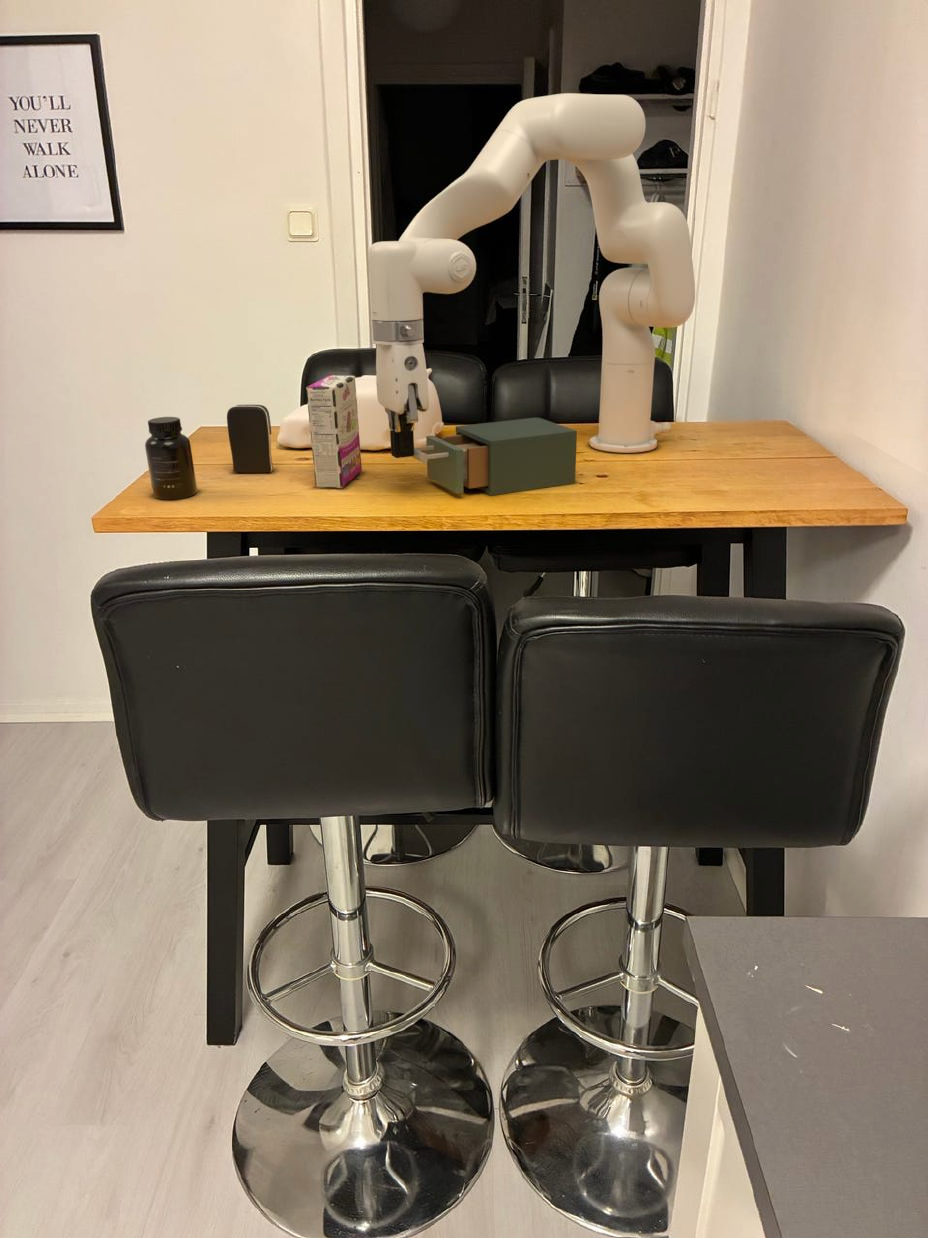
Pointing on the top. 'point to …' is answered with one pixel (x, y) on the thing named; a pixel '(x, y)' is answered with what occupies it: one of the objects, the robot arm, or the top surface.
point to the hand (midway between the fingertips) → (402, 455)
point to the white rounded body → (366, 419)
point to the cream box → (465, 456)
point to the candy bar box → (334, 431)
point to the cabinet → (525, 454)
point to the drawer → (454, 462)
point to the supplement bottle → (170, 460)
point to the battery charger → (250, 438)
